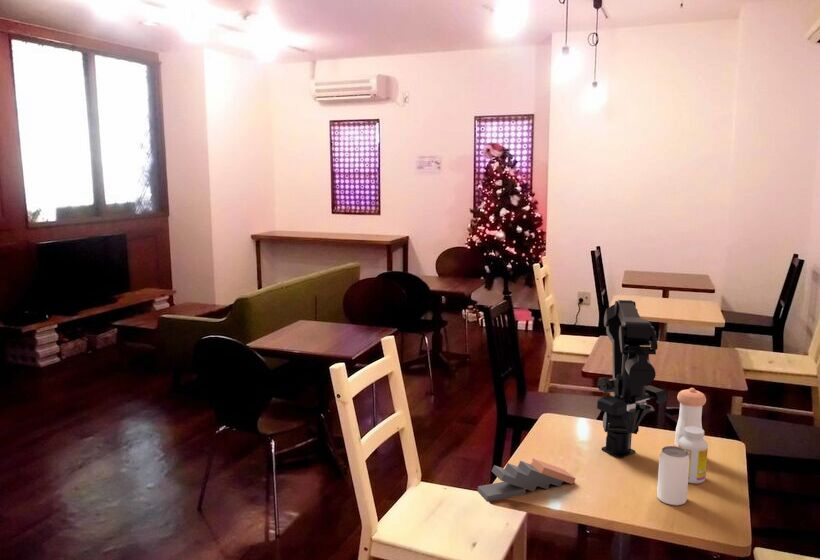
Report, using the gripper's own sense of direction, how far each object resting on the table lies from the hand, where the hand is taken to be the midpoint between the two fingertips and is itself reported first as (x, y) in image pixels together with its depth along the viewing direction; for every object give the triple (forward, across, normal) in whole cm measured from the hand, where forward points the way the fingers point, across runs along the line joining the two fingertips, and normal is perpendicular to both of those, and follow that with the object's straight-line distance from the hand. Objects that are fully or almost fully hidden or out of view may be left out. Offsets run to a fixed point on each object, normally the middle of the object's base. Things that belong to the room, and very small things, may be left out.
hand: (630, 432), depth 160 cm
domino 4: (+11, +17, -8) cm, 22 cm away
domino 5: (+11, +13, -7) cm, 19 cm away
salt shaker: (+12, -23, 0) cm, 26 cm away
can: (+12, -1, +12) cm, 17 cm away
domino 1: (+11, +24, -9) cm, 28 cm away
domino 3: (+11, +20, -8) cm, 25 cm away
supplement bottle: (+12, -14, +8) cm, 20 cm away
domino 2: (+12, +27, -9) cm, 31 cm away
